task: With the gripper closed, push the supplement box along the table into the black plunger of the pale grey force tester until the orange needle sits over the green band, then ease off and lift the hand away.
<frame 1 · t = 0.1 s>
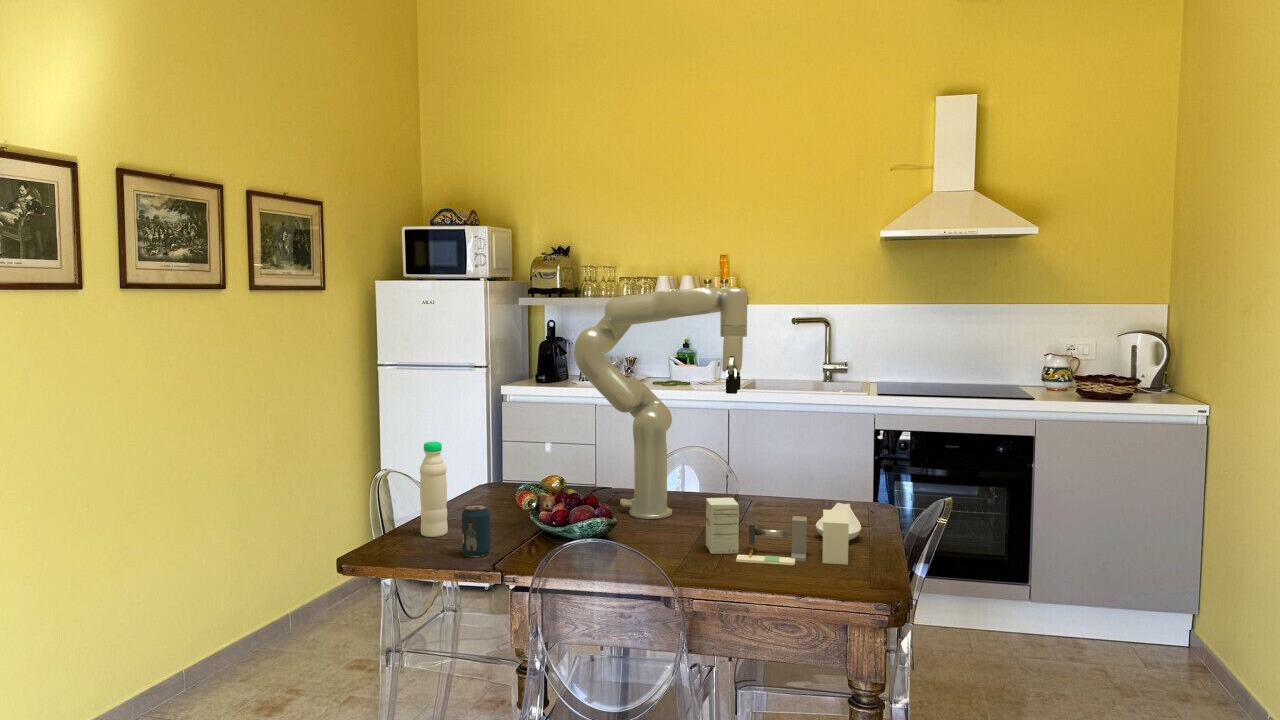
hand: (733, 391, 259), 37 cm above the table, fingers open, 9 cm apart
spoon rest: (839, 534, 247), on the table
soda can: (476, 554, 227), on the table
plunger: (768, 538, 226), point 4 cm above the table, slide at 0.0 cm
supplement box: (721, 550, 231), on the table
force tester: (781, 553, 228), on the table
cream plastic bottle: (434, 535, 245), on the table
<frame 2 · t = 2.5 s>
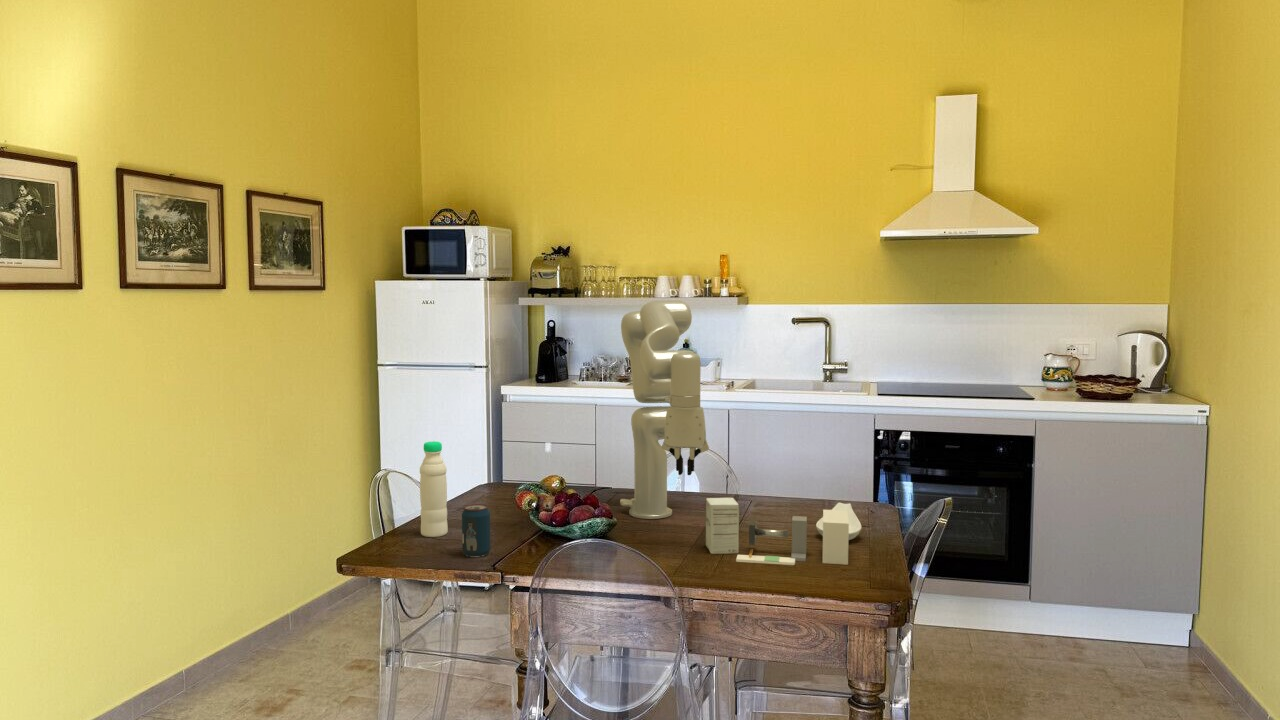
hand: (685, 473, 231), 19 cm above the table, fingers closed
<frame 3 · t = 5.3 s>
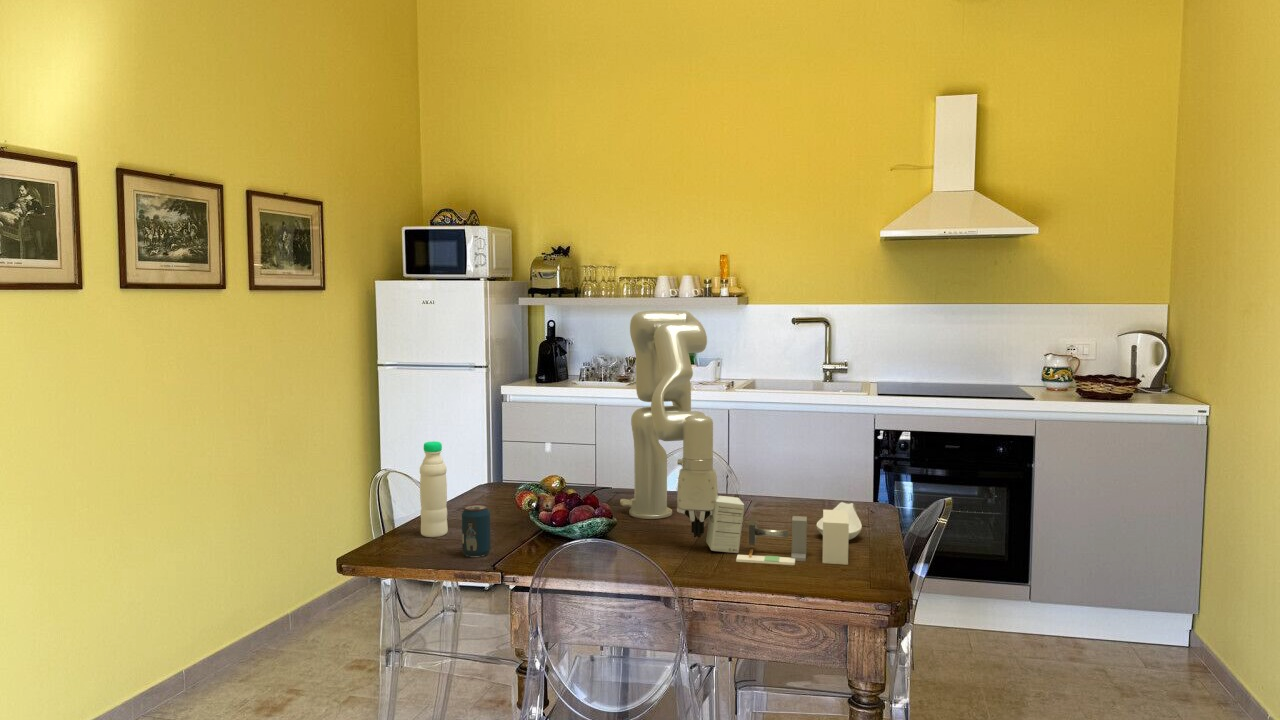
hand: (697, 535, 232), 3 cm above the table, fingers closed
supplement box: (721, 548, 231), on the table, touching gripper
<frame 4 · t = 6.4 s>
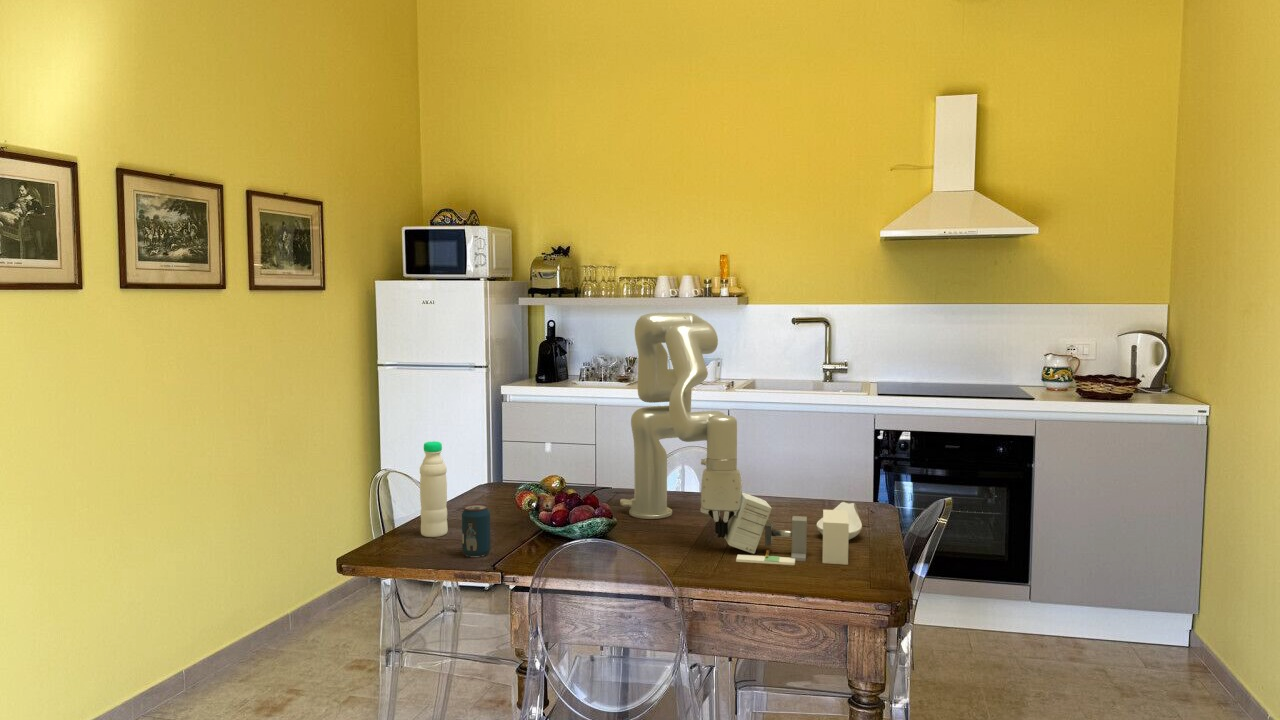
hand: (721, 536, 230), 4 cm above the table, fingers closed
plunger: (784, 538, 225), point 4 cm above the table, slide at 4.0 cm, touching supplement box
supplement box: (738, 546, 230), point 1 cm above the table, touching gripper, plunger
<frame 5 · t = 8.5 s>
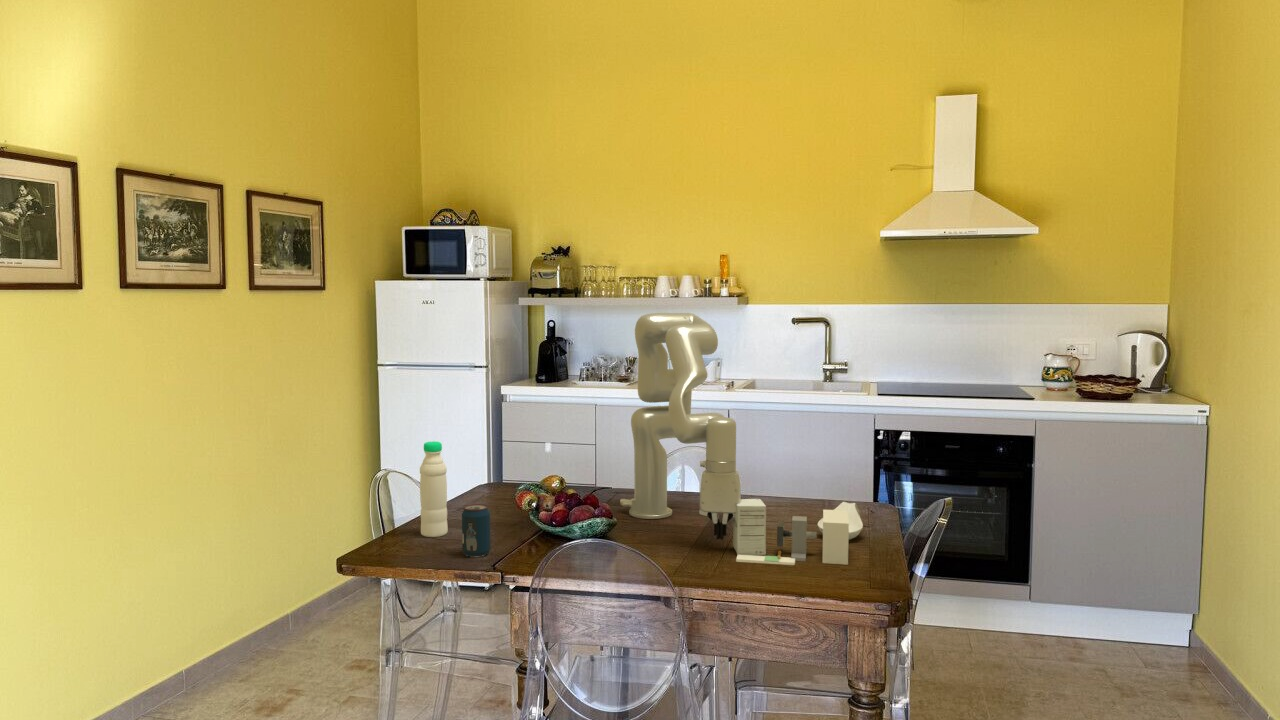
hand: (720, 538, 231), 3 cm above the table, fingers closed
plunger: (796, 539, 225), point 4 cm above the table, slide at 6.9 cm
supplement box: (749, 552, 230), on the table
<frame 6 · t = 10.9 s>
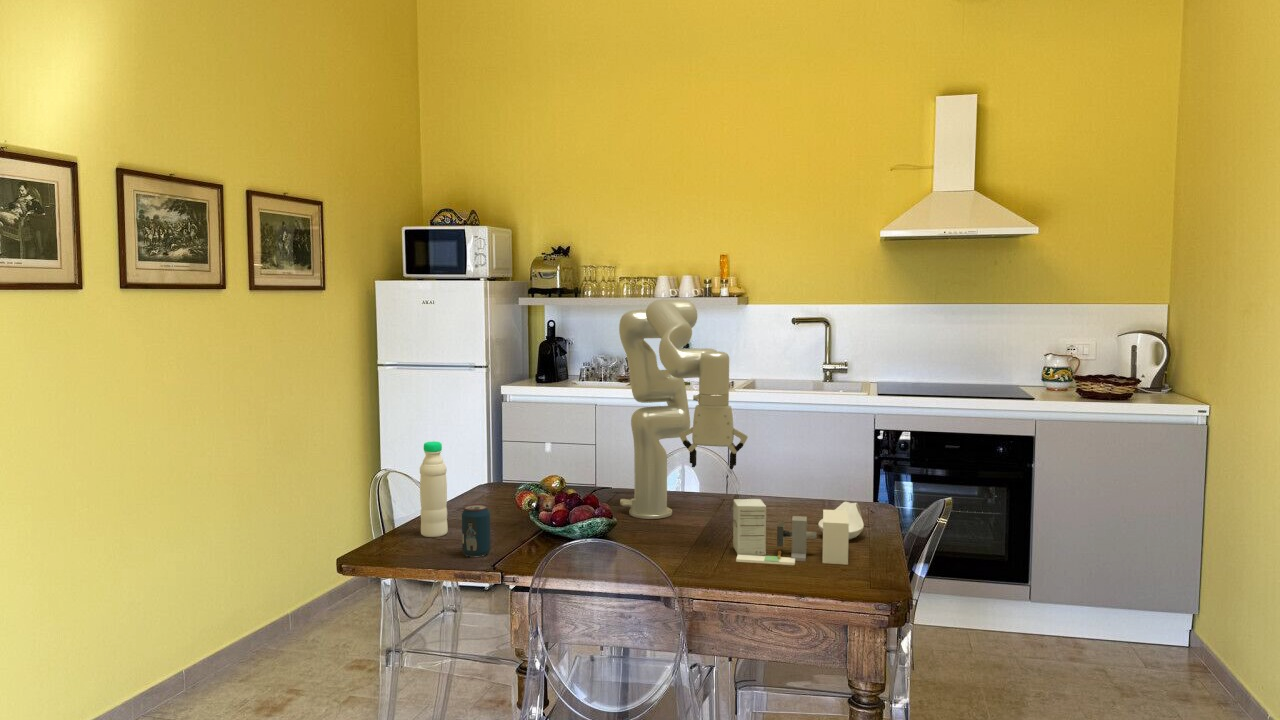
hand: (712, 467, 232), 21 cm above the table, fingers open, 9 cm apart
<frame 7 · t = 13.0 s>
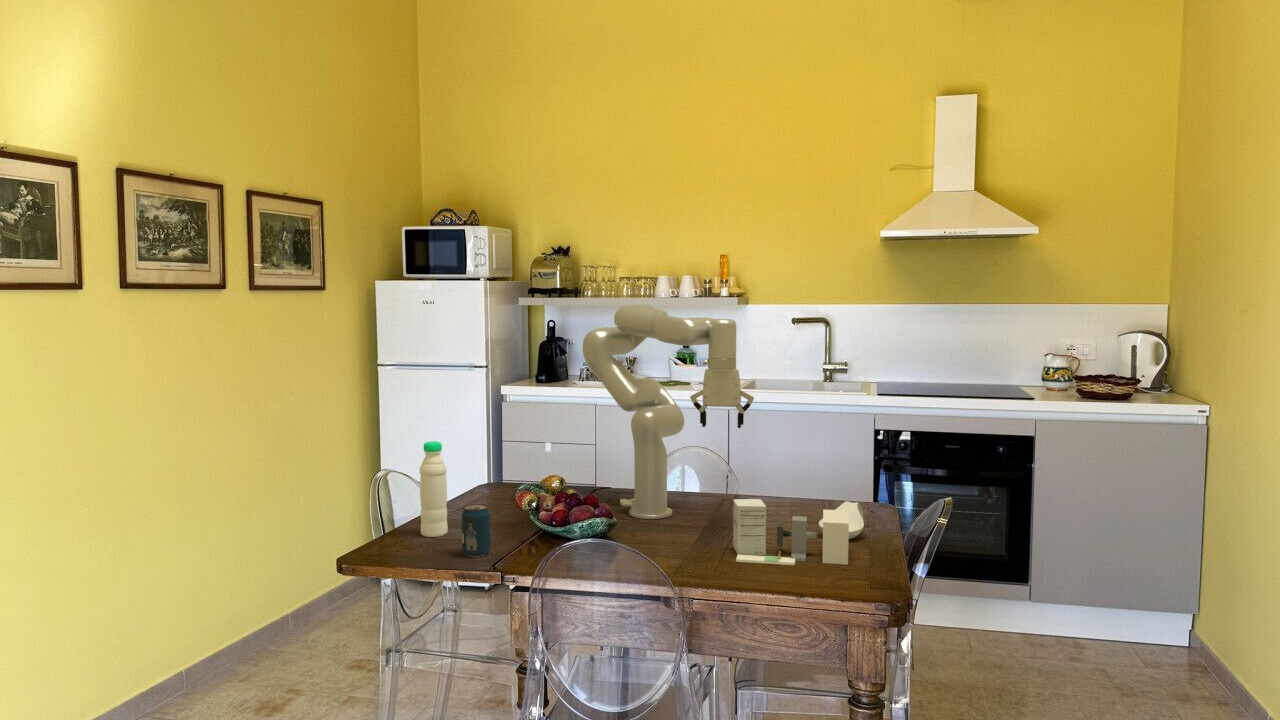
hand: (721, 426, 249), 28 cm above the table, fingers open, 9 cm apart
at the end: plunger slide at 6.9 cm; supplement box tilted 0°; supplement box moved 6.9 cm from its start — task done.
